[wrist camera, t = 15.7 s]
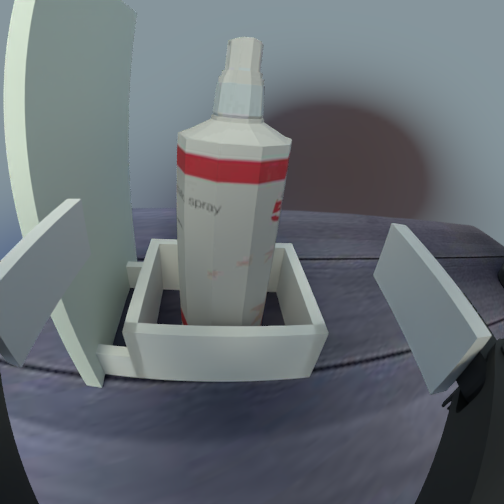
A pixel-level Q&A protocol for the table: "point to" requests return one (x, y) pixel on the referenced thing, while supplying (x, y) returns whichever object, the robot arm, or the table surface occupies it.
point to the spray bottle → (230, 198)
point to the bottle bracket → (122, 210)
